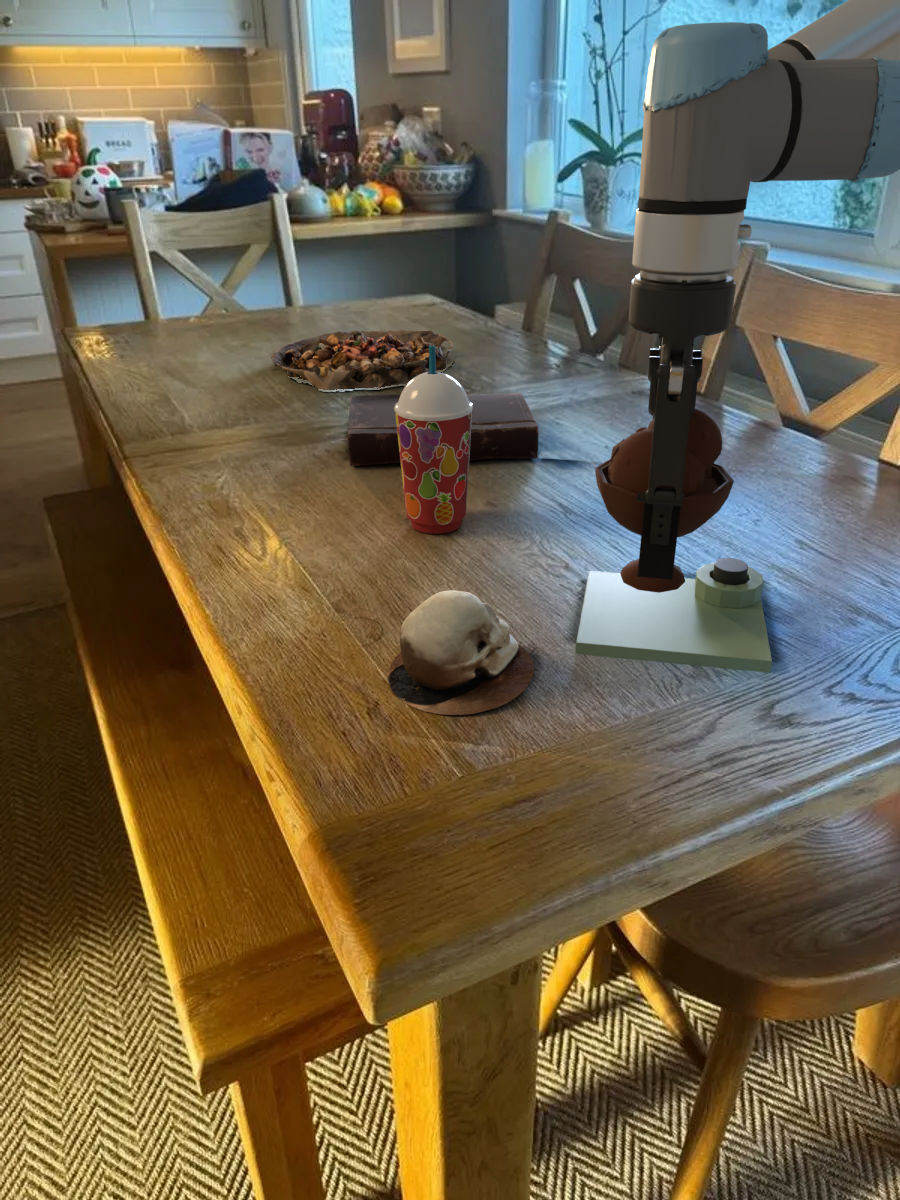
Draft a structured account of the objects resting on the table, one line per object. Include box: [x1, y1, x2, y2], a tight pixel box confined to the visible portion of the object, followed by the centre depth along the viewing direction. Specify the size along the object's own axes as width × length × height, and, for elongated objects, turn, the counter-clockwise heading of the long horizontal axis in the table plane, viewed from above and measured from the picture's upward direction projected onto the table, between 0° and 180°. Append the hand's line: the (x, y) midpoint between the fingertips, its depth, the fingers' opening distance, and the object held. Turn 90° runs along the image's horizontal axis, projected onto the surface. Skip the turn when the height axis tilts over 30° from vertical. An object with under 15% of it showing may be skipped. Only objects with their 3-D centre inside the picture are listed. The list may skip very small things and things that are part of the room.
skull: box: [387, 589, 535, 716], centre depth 74 cm, size 12×10×10 cm
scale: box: [574, 562, 773, 674], centre depth 81 cm, size 16×14×3 cm
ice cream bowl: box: [594, 407, 735, 593], centre depth 74 cm, size 11×11×15 cm
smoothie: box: [394, 345, 473, 535], centre depth 98 cm, size 8×8×20 cm
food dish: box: [270, 329, 454, 390], centre depth 165 cm, size 35×33×8 cm
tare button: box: [713, 557, 749, 585], centre depth 83 cm, size 3×3×2 cm
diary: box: [347, 392, 539, 467], centre depth 126 cm, size 19×25×5 cm
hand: (656, 545), depth 77 cm, fingers closed on ice cream bowl, 11 cm apart
